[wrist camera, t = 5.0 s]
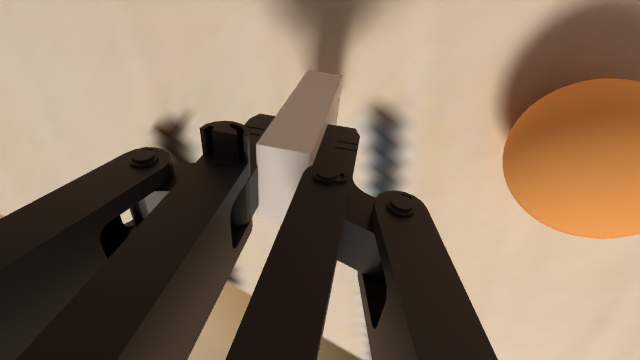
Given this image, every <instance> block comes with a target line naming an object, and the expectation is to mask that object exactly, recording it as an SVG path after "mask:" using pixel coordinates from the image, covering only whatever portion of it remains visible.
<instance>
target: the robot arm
mask: <svg viewBox="0 0 640 360" xmlns="http://www.w3.org/2000/svg"><path fill="white" fill-rule="evenodd" d="M342 79H343V75H337V74H330V73H324V72H317V71H311V70H308V71H307V72H306V74H305V75H304V77H303V78H302V79H301V81H300V82H299V84H298V85H297V87H296V88H295V89H294V91H293V92H292V94H291V95H290V97H289V98H288V99H287V101H286V102H285V104H284V105H283V106H282V108H281V109H280V111H279V112H278V114H277V115H276V116H271V115H265V114H258V115H256V116H254V117H252V118H250V119H249V120H248V121H247V122H246V124H245V125H242V124H240V123H237V122H233V121H217V122H212V123H208V124H205V125H204V126H202V127H201V128H200V134H201V142H202V149H203V155H202V156H201V158H200V159H199V160H198V161H197V162H196V163H172V159H171V156H170V154H169V152H167V151H165V150H164V149H159V148H154V147H150V148H149V147H144V148H140V149H135V150H132V151H130V152H127V153H125V154H123V155H121V156H119V157H117V158H115V159H113V160H112V161H110V162H108V163H106V164H104V165H102V166H100V167H98V168H96V169H94V170H92V171H91V172H89V173H87V174H85V175H83V176H81V177H79V178H77V179H75V180H73V181H72V182H70V183H68V184H66V185H64V186H62V187H60V188H58V189H56V190H54V191H53V192H51V193H49V194H47V195H45V196H43V197H41V198H39V199H37V200H35V201H33V202H32V203H30V204H28V205H26V206H24V207H22V208H20V209H18V210H16V211H14V212H13V213H11V214H9V215H7V216H5V217H3V218H1V219H0V360H187V359H188V357H189V355H190V353H191V351H192V349H193V347H194V345H195V343H196V341H197V339H198V337H199V335H200V333H201V331H202V329H203V327H204V325H205V323H206V321H207V319H208V317H209V315H210V313H211V311H212V309H213V307H214V305H215V303H216V301H217V299H218V297H219V295H220V293H221V291H222V289H223V287H224V285H225V283H226V281H227V279H228V277H229V275H230V273H231V271H232V269H233V267H234V265H235V263H236V261H237V259H238V257H239V255H240V253H241V251H242V249H243V247H244V245H245V243H246V241H247V239H248V237H249V235H250V233H251V231H252V226H253V224H252V216H253V214H254V212H255V211H256V209H257V212H258V220H262V221H267V222H272V223H277V224H282V225H281V227H280V229H279V232H278V234H277V237H276V239H275V241H274V244H273V246H272V249H271V251H270V253H269V256H268V258H267V261H266V263H265V266H264V268H263V270H262V273H261V275H260V278H259V280H258V282H257V285H256V287H255V290H254V292H253V295H252V297H251V299H250V302H249V304H248V307H247V309H246V311H245V314H244V316H243V319H242V321H241V324H240V326H239V328H238V331H237V333H236V336H235V338H234V340H233V343H232V345H231V348H230V350H229V352H228V355H227V357H226V360H318V356H319V350H320V345H321V340H322V335H323V330H324V324H325V319H326V314H327V309H328V304H329V298H330V293H331V288H332V283H333V278H334V272H335V267H336V263H337V260H338V261H340V262H342V263H344V264H346V265H348V266H350V267H352V268H354V269H356V270H357V271H358V281H359V287H360V292H361V298H362V304H363V310H364V315H365V321H366V327H367V333H368V338H369V344H370V350H371V356H372V360H498V359H497V357H496V355H495V353H494V350H493V348H492V346H491V344H490V342H489V340H488V338H487V336H486V333H485V331H484V329H483V327H482V325H481V323H480V321H479V318H478V316H477V314H476V312H475V310H474V308H473V306H472V303H471V301H470V299H469V297H468V295H467V293H466V291H465V289H464V286H463V284H462V282H461V280H460V278H459V276H458V274H457V271H456V269H455V267H454V265H453V263H452V261H451V259H450V256H449V254H448V252H447V250H446V248H445V246H444V244H443V242H442V239H441V237H440V235H439V233H438V231H437V229H436V227H435V224H434V222H433V220H432V218H431V216H430V214H429V212H428V209H427V208H426V206H425V205H424V204H423V202H422V201H421V200H419V199H418V198H416V197H415V196H413V195H411V194H408V193H406V192H401V191H385V192H383V193H381V194H379V195H378V196H377V197H376V198H375V197H373V196H370V195H368V194H366V193H364V192H363V191H361V190H360V189H359V188H358V187H357V186H356V185H355V184H354V181H353V172H354V166H355V161H356V155H357V150H358V144H359V139H360V136H359V134H358V132H357V131H356V129H354V128H348V127H342V126H336V124H337V116H338V109H339V101H340V94H341V86H342ZM129 208H130V211H131V214H132V217H133V220H131V221H130V222H128V223H126V224H123V223H122V220H121V217H120V214H122V213H123V212H125V211H126V210H128V209H129Z"/></svg>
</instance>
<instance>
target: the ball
mask: <svg viewBox="0 0 640 360" xmlns="http://www.w3.org/2000/svg"><path fill="white" fill-rule="evenodd" d="M503 171H504V177H505V180H506V183H507V186H508V188H509V190H510V192H511V194H512V195H513V197H514V198H515V200H516V201H517V203H518V204H519V205H520V206H521V207H522V208H523V209H524V210H525V211H526V212H527V213H528V214H529V215H531V216H532V217H533V218H535V219H536V220H538V221H539V222H541V223H542V224H544V225H546V226H548V227H550V228H552V229H555V230H557V231H560V232H563V233H566V234H570V235H574V236H579V237H586V238H596V239H609V238H620V237H627V236H632V235H636V234H640V82H639V81H634V80H629V79H617V78H604V79H593V80H586V81H582V82H577V83H573V84H570V85H567V86H565V87H562V88H559V89H557V90H555V91H553V92H551V93H549V94H547V95H546V96H544V97H542V98H541V99H539V100H538V101H537V102H535V103H534V104H533V105H531V106H530V107H529V108H528V109H527V110H526V111H525V112H524V113H523V114H522V115H521V116H520V118H519V119H518V120H517V121H516V123H515V124H514V126H513V127H512V129H511V131H510V133H509V135H508V138H507V140H506V143H505V147H504V152H503Z"/></svg>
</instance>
